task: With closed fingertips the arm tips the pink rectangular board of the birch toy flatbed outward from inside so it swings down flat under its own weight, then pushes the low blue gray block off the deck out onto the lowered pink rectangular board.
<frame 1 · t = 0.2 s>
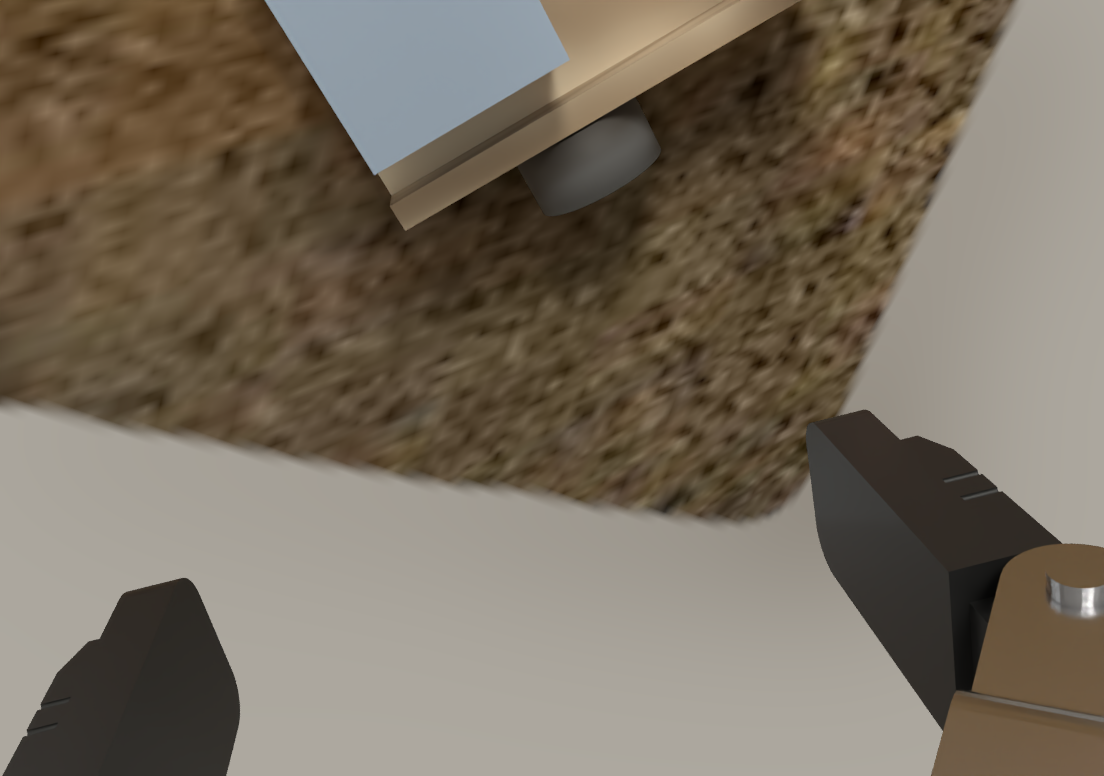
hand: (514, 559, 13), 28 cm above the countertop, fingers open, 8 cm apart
blue gray block: (420, 23, 34), point 3 cm above the countertop, touching flatbed
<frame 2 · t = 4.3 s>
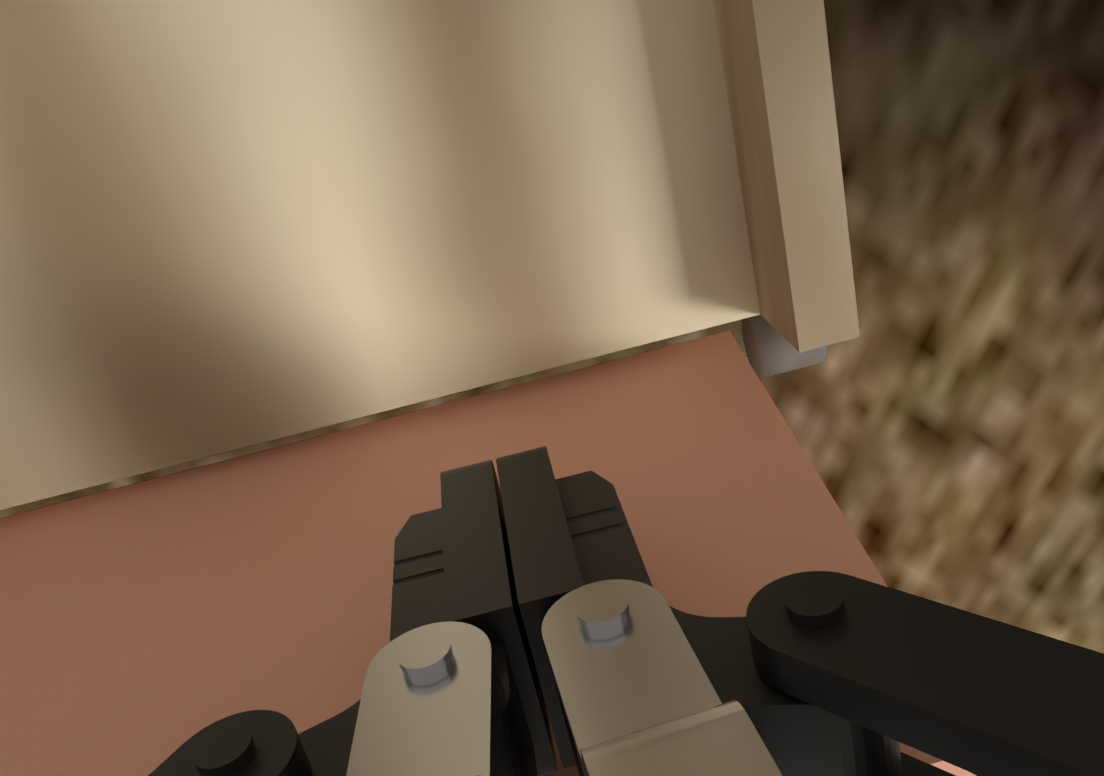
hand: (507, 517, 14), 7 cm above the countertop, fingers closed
flatbed: (164, 191, 18), on the countertop
pink rectangular board: (200, 678, 14), point 7 cm above the countertop, hinge at 12.2°, touching gripper
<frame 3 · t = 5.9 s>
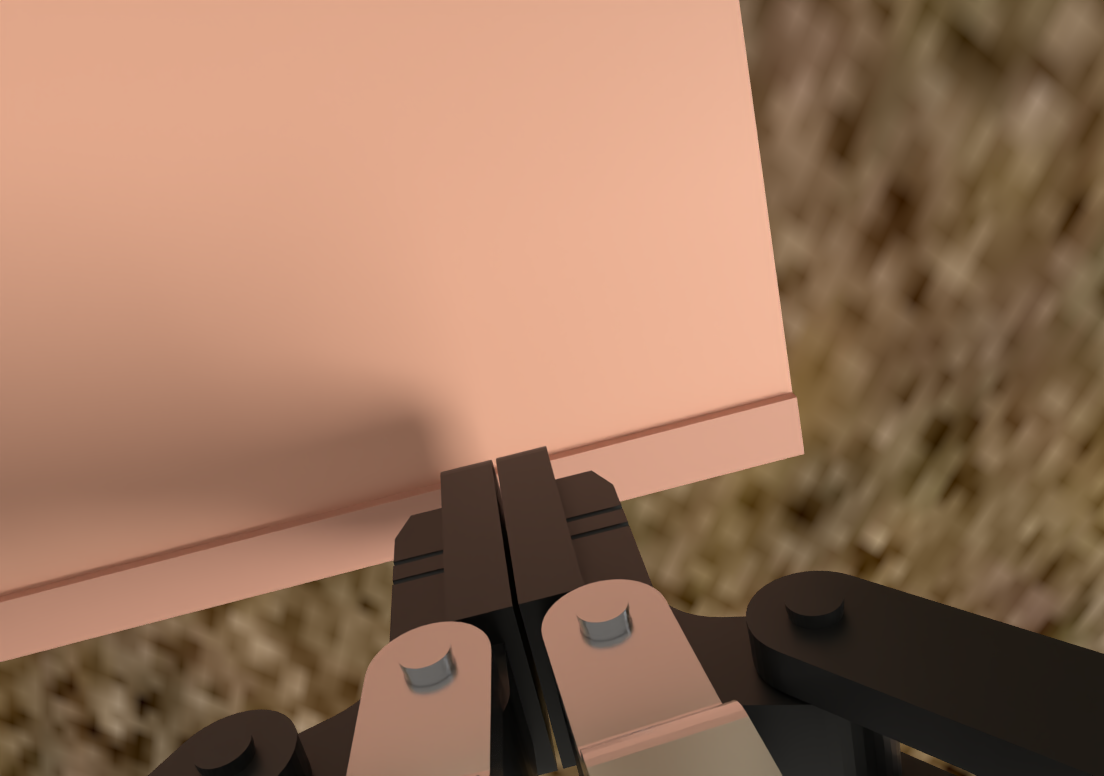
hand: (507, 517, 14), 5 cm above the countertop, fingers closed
pink rectangular board: (112, 322, 14), point 2 cm above the countertop, hinge at 90.3°
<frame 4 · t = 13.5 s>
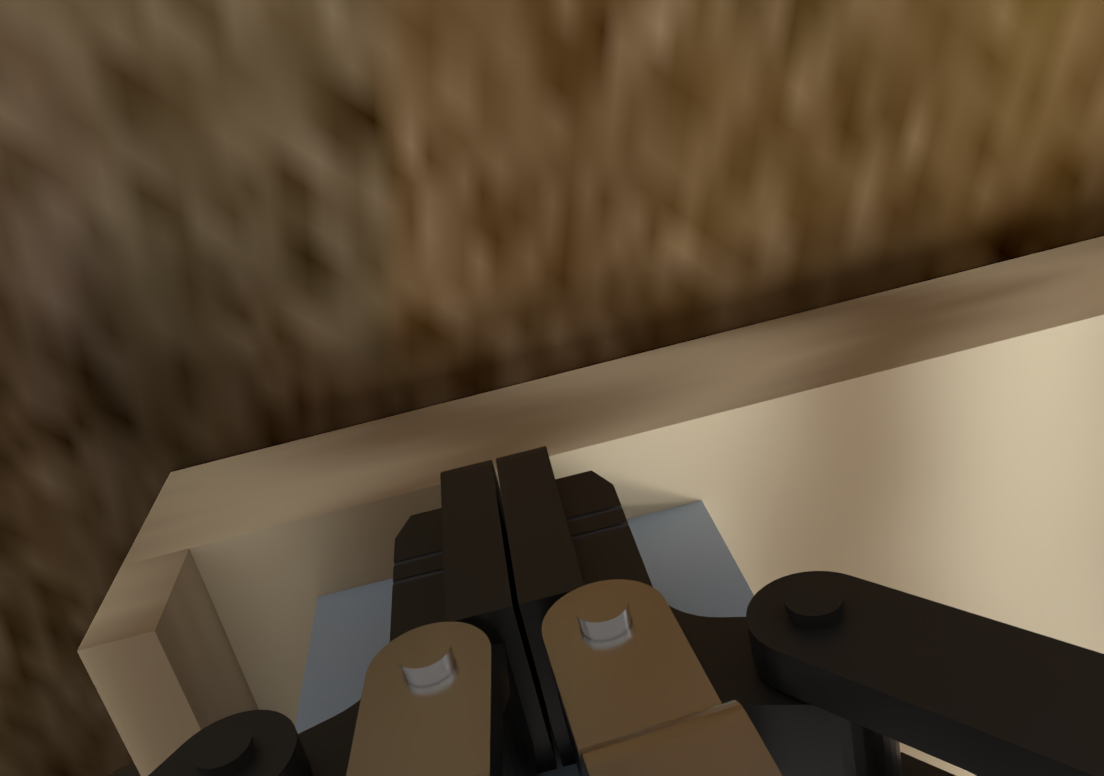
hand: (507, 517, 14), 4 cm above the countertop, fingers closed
blue gray block: (558, 724, 16), point 3 cm above the countertop, touching gripper
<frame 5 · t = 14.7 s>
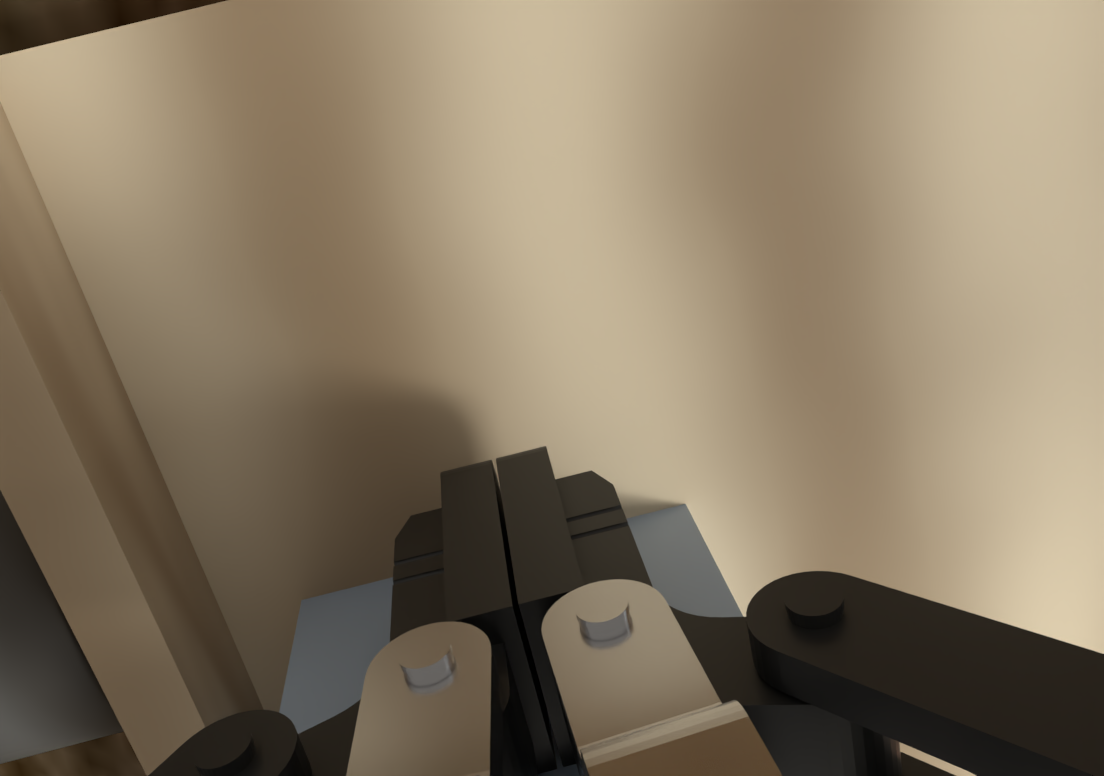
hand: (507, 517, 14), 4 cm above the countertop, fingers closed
flatbed: (817, 554, 19), on the countertop
blue gray block: (543, 727, 16), point 3 cm above the countertop, touching flatbed, gripper
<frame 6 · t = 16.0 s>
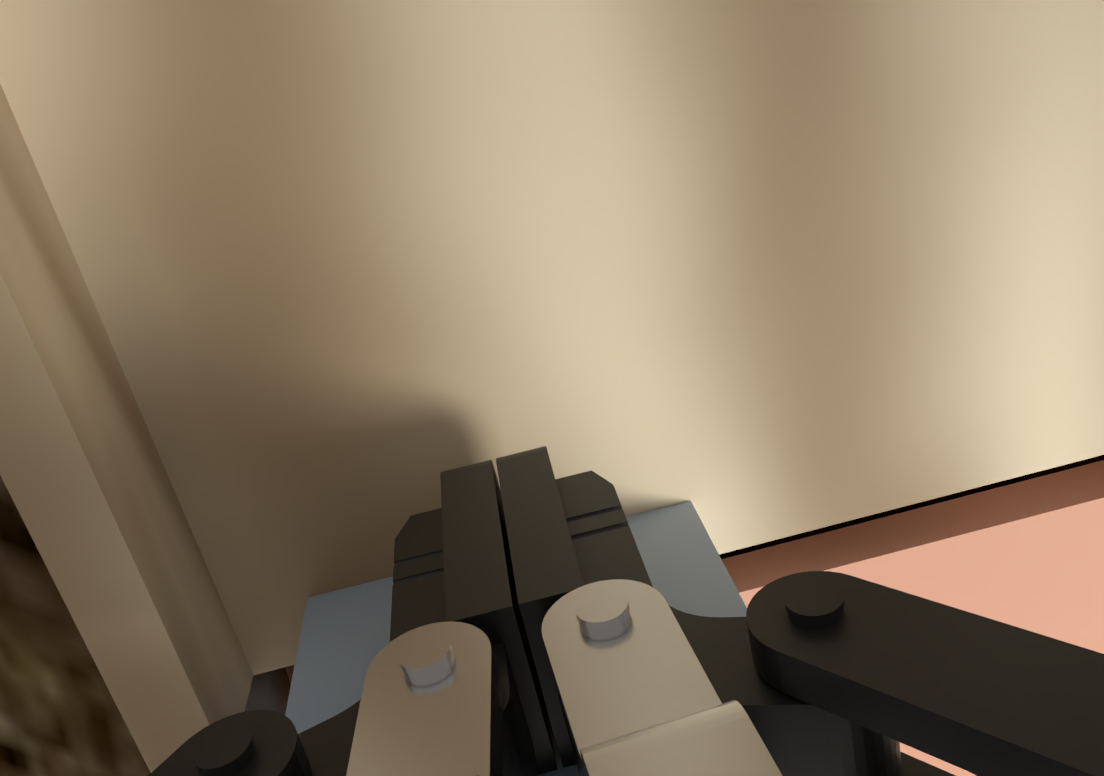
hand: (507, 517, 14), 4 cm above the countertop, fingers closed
flatbed: (775, 218, 17), on the countertop
blue gray block: (548, 723, 16), point 3 cm above the countertop, touching gripper, pink rectangular board
pink rectangular board: (885, 746, 18), point 2 cm above the countertop, hinge at 90.3°, touching blue gray block
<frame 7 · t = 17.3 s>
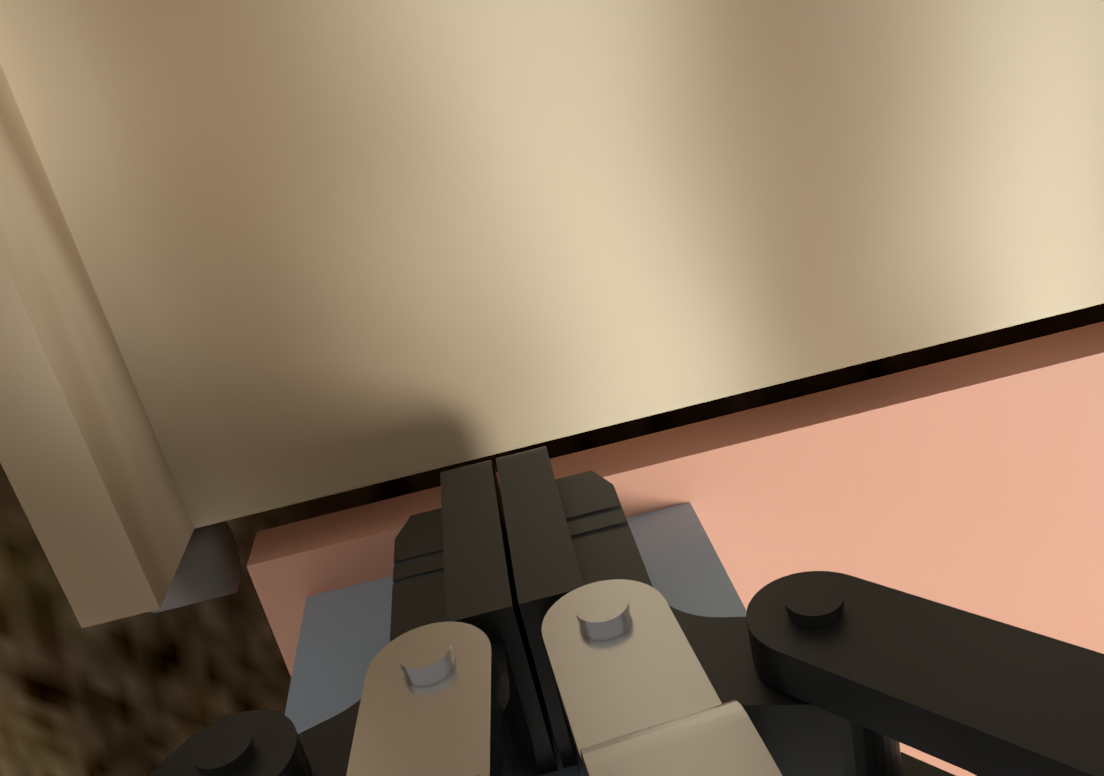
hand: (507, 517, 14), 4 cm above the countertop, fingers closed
flatbed: (758, 59, 16), on the countertop
blue gray block: (546, 723, 16), point 3 cm above the countertop, touching gripper, pink rectangular board
pink rectangular board: (872, 632, 17), point 2 cm above the countertop, hinge at 90.3°, touching blue gray block
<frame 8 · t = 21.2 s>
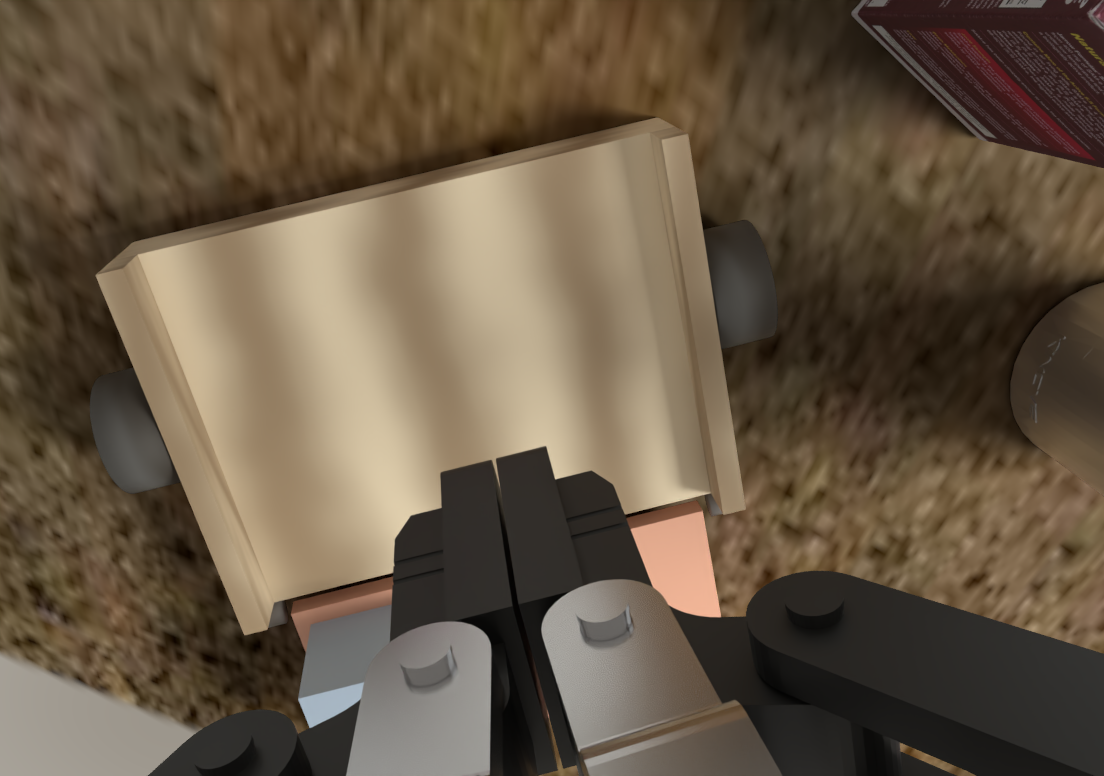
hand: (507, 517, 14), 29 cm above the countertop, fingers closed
supplement box: (950, 30, 41), on the countertop
flatbed: (468, 436, 45), on the countertop
blue gray block: (396, 669, 46), point 3 cm above the countertop, touching pink rectangular board
pink rectangular board: (519, 636, 46), point 2 cm above the countertop, hinge at 90.3°, touching blue gray block
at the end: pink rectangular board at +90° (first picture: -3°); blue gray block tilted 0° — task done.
